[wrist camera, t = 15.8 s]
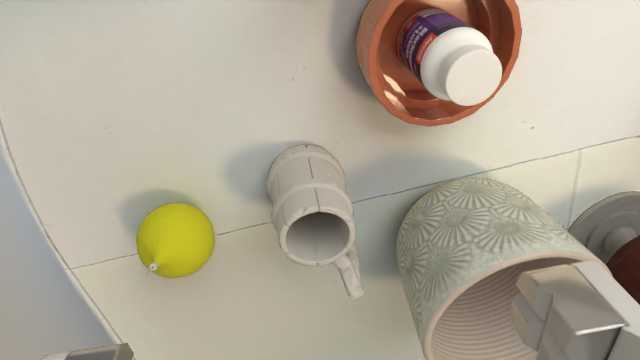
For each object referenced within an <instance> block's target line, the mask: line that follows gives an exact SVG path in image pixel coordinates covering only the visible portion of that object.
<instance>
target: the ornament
mask: <svg viewBox="0 0 640 360" xmlns="http://www.w3.org/2000/svg"><path fill="white" fill-rule="evenodd" d="M214 243H215V236H214V230H213V227H212V224H211V222H210V220H209V219H208V217H207V216H206V215H205V214H204V213H203V212H202V211H200V210H199V209H197V208H195V207H193V206H191V205H188V204H183V203H172V204H167V205H163V206H161V207H159V208H157V209H155V210H154V211H152V212H151V213H150V214H149V215H148V216H147V217H146V218H145V219H144V220H143V222H142V223H141V225H140V227H139V230H138V234H137V239H136V244H137V251H138V254H139V257H140V259H141V261H142V262H143V264H144V265H145V266H146V267H147V268H148V269H150V270H151V271H152V272H154V273H155V274H157V275H160V276H163V277H167V278H180V277H185V276H188V275H191V274H193V273H195V272H196V271H198V270H199V269H201V268H202V267H203V265H204V264H205V263H206V262H207V261H208V260H209V258H210V256H211V254H212V251H213V248H214ZM148 271H149V270H148ZM146 274H147V273H146ZM146 276H147V275H146Z"/></svg>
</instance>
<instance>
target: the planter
mask: <svg viewBox="0 0 640 360" xmlns="http://www.w3.org/2000/svg"><path fill="white" fill-rule="evenodd" d="M396 258H397V265H398V270H399V274H400V277H401V281H402V284H403V287H404V291H405V294H406V297H407V300H408V304H409V307H410V310H411V314H412V317H413V320H414V324H415V327H416V330H417V333H418V337H419V340H420V343H421V347H422V350H423V353H424V357H425V359H426V360H536V352H537V351H535V350H533V349H532V348H530V347H528V346H527V345H525V344H524V343H523V342H522V340H521V338H520V337H519V335H518V333H517V331H516V329H515V326H514V324H513V319H512V314H511V308H512V302H513V299H514V298H515V297H516V296H517V295H518V294H519V293H520V290H519V289H518V287H517V286H516V283H517V279H518V276H519V275H520V274H521V273H522V272H527V271H532V270H537V269H543V268H548V267H553V266H558V265H564V264H566V265H567V264H572V263H577V262H583V261H589V260H593V261H595V262H597V263H599V264H600V265H601V266H602V267H603V268H604V269H605V270H606V271H607V272H608V273H609V274H610V275H611V276H612V274H611V272H610V270H609V269H608V268H607V266H606V265H605V264H604V263H603V262H602V261H601V260H599V259H598V258H597V257H596V256H595V255H594V254H593V253H592V252H590V251H589V250H588V249H587V248H586V247H585V246H584V245H582V244H581V243H580V242H579V241H578V240H577V239H576V238H574V237H573V236H572V235H571V234H570V233H569V232H568V231H566V230H565V229H564V228H563V227H562V226H561V225H560V224H558V223H557V222H556V221H555V220H554V219H553V218H552V217H551V216H549V215H548V214H547V213H546V212H545V211H544V210H543V209H541V208H540V207H539V206H538V205H537V204H536V203H535V202H533V201H532V200H531V199H530V198H529V197H527V196H526V195H524V194H523V193H522V192H520V191H518V190H517V189H515V188H513V187H511V186H509V185H506V184H504V183H501V182H498V181H495V180H490V179H485V178H465V179H459V180H454V181H451V182H448V183H445V184H442V185H440V186H438V187H436V188H434V189H432V190H431V191H429V192H428V193H426V194H425V195H424V196H422V197H421V198H420V199H419V200H418V201H417V202H416V203H415V204H414V205H413V206H412V207H411V209H410V210H409V211H408V213H407V214H406V216H405V217H404V219H403V221H402V224H401V226H400V229H399V233H398V237H397V245H396ZM612 277H613V276H612Z"/></svg>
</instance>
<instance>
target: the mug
mask: <svg viewBox="0 0 640 360" xmlns="http://www.w3.org/2000/svg"><path fill="white" fill-rule="evenodd" d="M266 186H267V189H268V194H269V197H270V199H271V201H272V203H273V204H274V207H273V211H272V213H271V217H272V221H273V224H274V227H275V229H276V231H277V233H278V237H279V243H280V247H281V249H282V250H283V251H284V253H285V255H286V256H287V257H288V258H289V259H290V260H292V261H294V262H296V263H299V264H302V265H306V266H315V264H317V265H326V264H329V263H331V262H332V263H333V264H334V265H335V266H336V267H337V268H338V270H339V271H340V274H341V277H342V279H343V282H344V285H345V288H346V290H347V292H348V295H349V296H350V298H351V299H352V300H353V301H355V300H357V299H358V298H360V297H362V296H363V295H364V293H363V290H362V287H361V283H360V266H359V261H358V258H359V255H358V252H357V249H356V246H355V243H354V238H355V226H354V223H353V219H352V216H353V208H352V204H351V201H350V198H349V196H348V194H347V193H346V191H345V190H344V188H345V187H346V181H345V175H344V171H343V169H342V166H341V165H340V163H339V162H338V160H337V159H336V158H335V157H334V156H332V155H331V153H329V152H328V151H327V150H325V149H323V148H321V147H319V146H315V145H308V146H307V147H305V145H298V146H295V147H292V148H290V149H287V150H285V151H284V152H283V153H281V154H280V155H279V156H278V157H277V158H276V159H275V162H273V164H272V167H271V170H270V172H269V174H268V178H267V184H266Z"/></svg>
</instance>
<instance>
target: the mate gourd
mask: <svg viewBox="0 0 640 360" xmlns="http://www.w3.org/2000/svg"><path fill="white" fill-rule="evenodd" d="M568 232H569V233H570V234H571V235H572V236H573V237H574V238H576V239H577V240H578V241H579V242H580V243H581V244H582V245H584V246H585V247H586V248H587V249H588V250H589V251H590V252H592V253H593V254H594V255H595V256H596V257H597V258H598V259H599V260H601V261H602V262H603V263H604V264H605V265H606V266H607V268H608V269H609V270H610V272H611V274H612V276H613V278H614V279H615V280H616V281H617V282H618V283H619V284H620V285H621V286H622V287H623V289H624V290H625V291H626V292H627V293H628V294H629V295H630V296H631V297H632V298H633V299H634V300H635V301H636V302H637V303H638V304H639V305H640V192H634V191H632V192H624V193H620V194H616V195H613V196H610V197H608V198H606V199H603V200H602V201H600V202H598V203H596V204H595V205H593V206H592V207H590V208H589V209H588V210H586V211H585V212H584V213H583V214H582V215H581V216H580V217H579V218H578V219H577V220H576V221H575V222H574V224H573V225H572V226H571V228H570V230H569V231H568Z"/></svg>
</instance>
